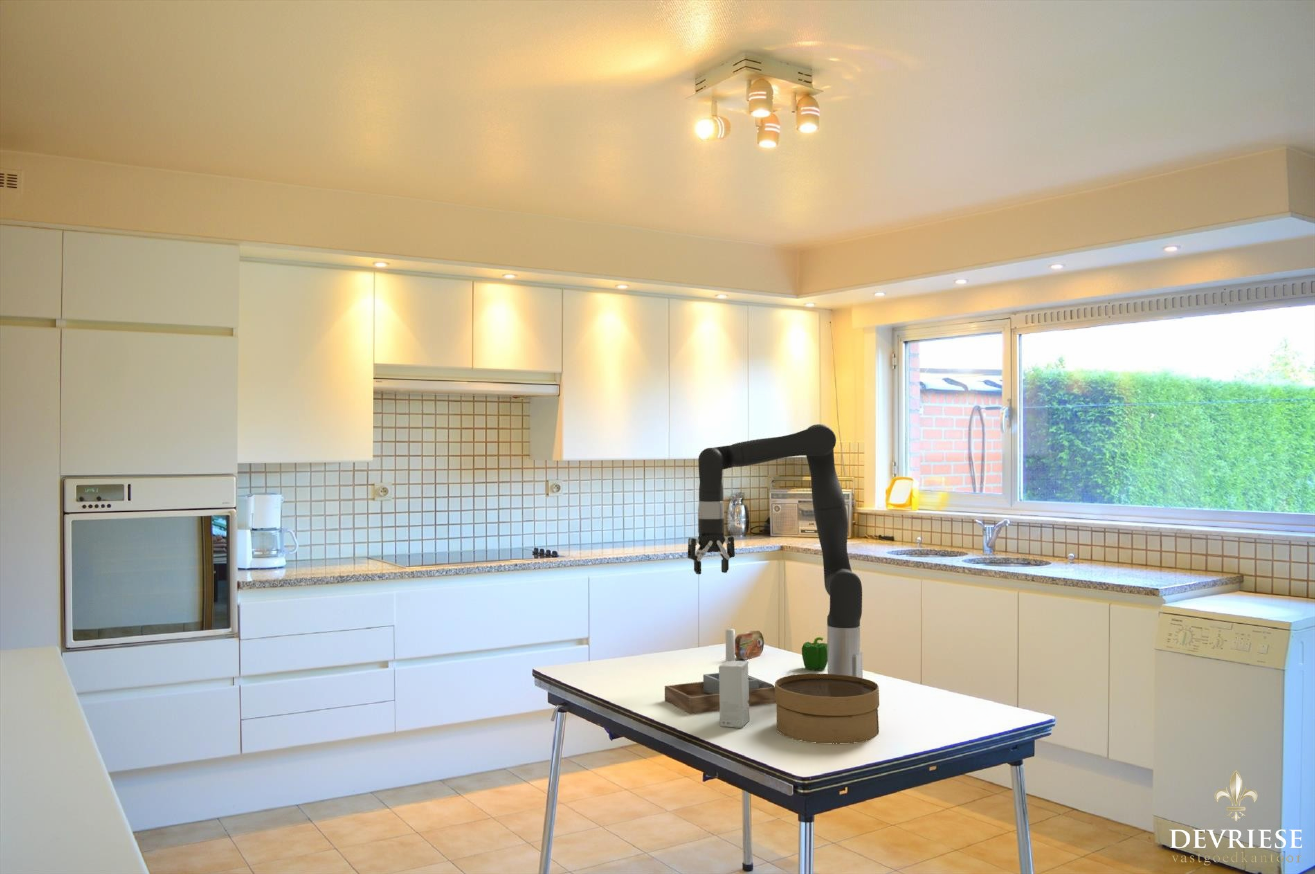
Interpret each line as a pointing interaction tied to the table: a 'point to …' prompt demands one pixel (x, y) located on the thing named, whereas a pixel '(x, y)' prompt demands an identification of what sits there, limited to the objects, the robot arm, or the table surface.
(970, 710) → the table surface
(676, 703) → the bay
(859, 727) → the steamer basket
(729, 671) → the skincare box
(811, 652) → the bell pepper
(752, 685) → the tray with upright post
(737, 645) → the tin
